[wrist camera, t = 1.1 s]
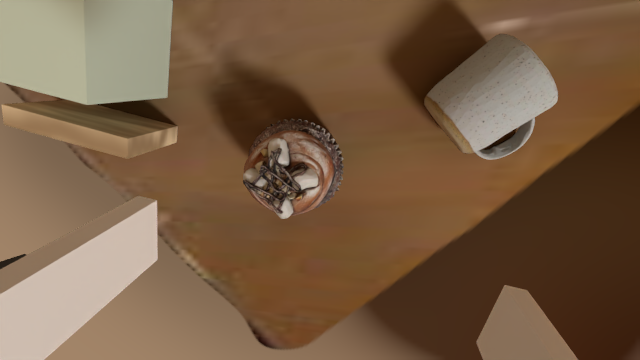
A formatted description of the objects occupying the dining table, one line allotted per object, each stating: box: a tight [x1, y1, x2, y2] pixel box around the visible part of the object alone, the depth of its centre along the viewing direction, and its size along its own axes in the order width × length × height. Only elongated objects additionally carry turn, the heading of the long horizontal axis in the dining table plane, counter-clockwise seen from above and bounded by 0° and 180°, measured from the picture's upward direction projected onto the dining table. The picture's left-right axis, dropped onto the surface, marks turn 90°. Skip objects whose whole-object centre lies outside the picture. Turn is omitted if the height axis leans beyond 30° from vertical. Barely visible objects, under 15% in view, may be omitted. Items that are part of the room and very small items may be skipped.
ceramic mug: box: [424, 34, 558, 159], centre depth 27 cm, size 11×8×8 cm
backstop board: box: [2, 100, 178, 159], centre depth 33 cm, size 2×13×8 cm, turn 76°
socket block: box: [0, 0, 173, 105], centre depth 28 cm, size 10×10×11 cm
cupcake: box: [243, 118, 344, 219], centre depth 30 cm, size 10×10×10 cm
